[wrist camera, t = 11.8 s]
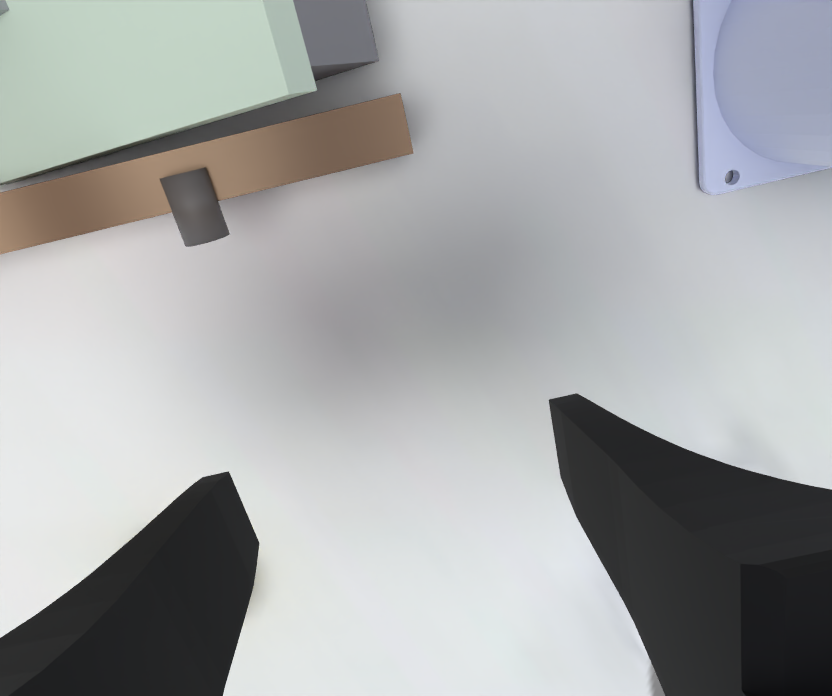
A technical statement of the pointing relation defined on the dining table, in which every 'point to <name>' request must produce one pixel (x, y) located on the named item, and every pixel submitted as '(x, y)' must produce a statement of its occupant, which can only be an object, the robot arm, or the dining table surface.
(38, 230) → the frame
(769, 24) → the robot arm
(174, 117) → the trapdoor
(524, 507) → the dining table surface
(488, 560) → the dining table surface
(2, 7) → the grey block
